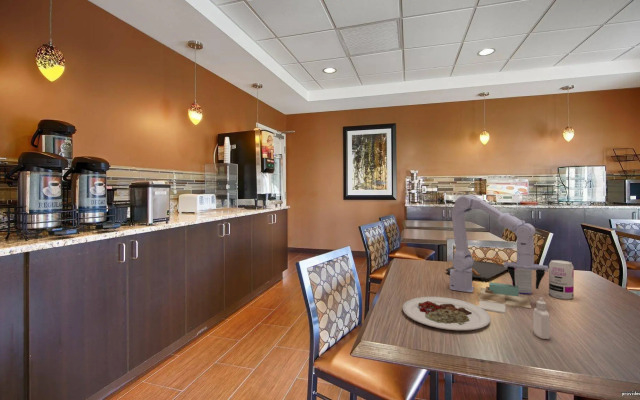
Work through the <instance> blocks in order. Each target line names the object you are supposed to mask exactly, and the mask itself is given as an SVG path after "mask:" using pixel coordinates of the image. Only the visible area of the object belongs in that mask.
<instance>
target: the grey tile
mask: <svg viewBox="0 0 640 400" xmlns="http://www.w3.org/2000/svg"><path fill="white" fill-rule="evenodd" d="M478 302H479V304H478V305H477V306H478V307H480V308H482V309H483V310H485V311H486V312H487V311H488V312H494V313H499V314H505V315H506V305H505V304H501V303H494V302H488V301H481V300H480V301H479V300H478Z"/></svg>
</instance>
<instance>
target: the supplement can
mask: <svg viewBox="0 0 640 400" xmlns="http://www.w3.org/2000/svg"><path fill="white" fill-rule="evenodd" d="M574 271H575V269H574V265H573V264H572V262H571V261H567V260H559V259H553V260H552V259H551V260H550V262H549V264H548V294H549V295H550V296H551V297H553V298H555V299H559V300H567V301H568V300H572V299H573V298H574V295H575V293H574V286H575V285H574V283H575V282H574V281H575V279H574V275H575V274H574V273H575V272H574Z"/></svg>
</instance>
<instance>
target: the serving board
mask: <svg viewBox="0 0 640 400" xmlns="http://www.w3.org/2000/svg"><path fill="white" fill-rule="evenodd" d="M473 260H474V259H473ZM485 260H486V261H485ZM451 269H455V268H454V267H453V266H451V267H448V268H446V269H445V272H447V275H449V274H450V270H451ZM471 269H472V278H477V279H481V281H482V282H484V283H486V282H487V279H488V280H489V279H491V278H494V277H495V276H498V275H499V274H502V273H503V272H505V270H508V269H507V268H505V267H504V264H503V263H501V262H500V261H499V260H498V259H495V258H492V257H482V258H480V259H477V260H474V265H473V266H472V267H471Z"/></svg>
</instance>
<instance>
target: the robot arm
mask: <svg viewBox="0 0 640 400" xmlns="http://www.w3.org/2000/svg"><path fill="white" fill-rule="evenodd" d="M471 210H481V211H482V212H484V213H486V214H488V215H489V216H491V217H493V218H495V219H497V222H498V224H499V225H501V226H503V227H504V228H505V229H507V230H509V231H511V233H514V234H515V236H516V262H513V261H511V262H509V261H504V264H503V265H504V267H505V268H507V269H508V271H507V272H508V274H509V275H510V278H511V281H513V286H515V269H514V268H519V269H529V270H532V271H535V289H536V290H539V287H540V284H541V281H542V279H543V277H544V276H545V274H546V272H548V273H549V265H542V264H536V263H535V243H534V241H535V240H534V239H535V238H534V235H535V234H536V228H535V226H534V225H532V224H531V223H528V222H526V220H521V219H519V218H518V217H516V216H515V213H513V212H510V213H509V212H502V211H500V210H499V209H497V208H496V207H494V206H493V205H491V204H489V203H488V202H487V201H485V200H483V199H482V198H480V197H477V196H476V195H473V194H469V195H466V194H465V195H461V196H459V197H458V198H457V199H456V200H455V201H454V206H453V208H452V210H451V220H452V221H451V222H452V229H453V237H454V245H455V246H454V247H455V251H454V253H453V259H452V267H454V268H455V269H451V270H450V275H449V290H451V291H459V292H465V293H466V292H467V293H470V294H471V293H472V294H473V292H474V286H473V277H472V269H471V267H472V266H473V265H474V258H473V256H472V252H471V251H470V249H469V246H468V245H469V244H468V236H467V230H466V229H467V228H466V221H465V220H466V219H465V216H466V215H467V213H469V212H470V211H471Z"/></svg>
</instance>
